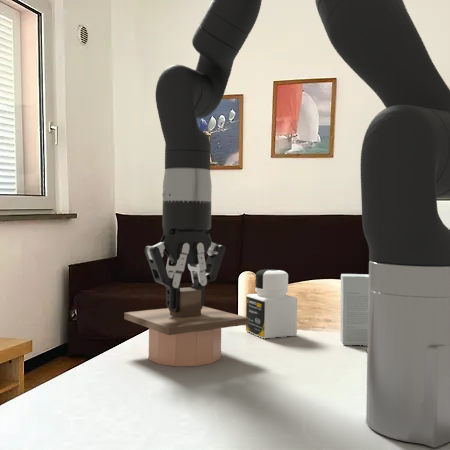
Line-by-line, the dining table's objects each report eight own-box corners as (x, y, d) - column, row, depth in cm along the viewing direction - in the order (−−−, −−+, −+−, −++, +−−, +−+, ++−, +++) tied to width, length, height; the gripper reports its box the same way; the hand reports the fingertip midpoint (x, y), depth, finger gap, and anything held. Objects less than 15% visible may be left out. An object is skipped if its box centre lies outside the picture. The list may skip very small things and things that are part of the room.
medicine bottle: (245, 331, 102) (246, 268, 101) (277, 328, 105) (278, 267, 104) (263, 339, 95) (264, 272, 95) (297, 336, 98) (298, 271, 98)
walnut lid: (248, 324, 81) (249, 291, 81) (168, 335, 73) (169, 298, 73) (198, 310, 93) (198, 282, 93) (124, 318, 84) (124, 287, 84)
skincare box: (373, 341, 95) (375, 274, 95) (378, 347, 91) (379, 276, 91) (339, 340, 96) (340, 273, 96) (342, 345, 91) (343, 275, 91)
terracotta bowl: (234, 359, 82) (234, 326, 82) (171, 370, 75) (172, 335, 75) (195, 344, 91) (195, 315, 91) (136, 353, 84) (136, 321, 84)
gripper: (158, 197, 75) (157, 319, 76) (238, 200, 84) (236, 310, 84) (134, 198, 81) (133, 311, 82) (211, 201, 90) (209, 303, 90)
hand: (185, 309), depth 83 cm, fingers closed on walnut lid, 3 cm apart
